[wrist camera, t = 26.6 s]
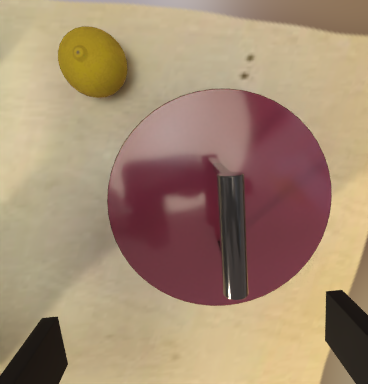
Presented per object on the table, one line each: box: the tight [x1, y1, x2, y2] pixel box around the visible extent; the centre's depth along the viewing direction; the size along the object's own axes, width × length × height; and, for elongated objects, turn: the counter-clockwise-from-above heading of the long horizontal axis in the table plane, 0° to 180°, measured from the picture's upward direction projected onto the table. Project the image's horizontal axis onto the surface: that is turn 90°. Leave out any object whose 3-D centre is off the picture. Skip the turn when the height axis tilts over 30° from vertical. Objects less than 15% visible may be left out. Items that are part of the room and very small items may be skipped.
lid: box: [107, 89, 331, 306], centre depth 21 cm, size 20×20×9 cm
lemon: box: [58, 27, 127, 98], centre depth 25 cm, size 6×6×8 cm
